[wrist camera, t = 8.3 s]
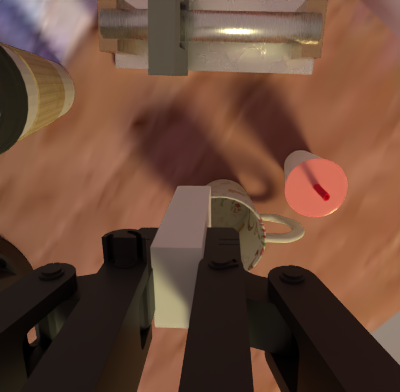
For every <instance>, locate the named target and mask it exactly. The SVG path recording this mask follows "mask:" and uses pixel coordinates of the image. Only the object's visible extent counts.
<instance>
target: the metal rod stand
mask: <svg viewBox="0 0 400 392" xmlns="http://www.w3.org/2000/svg"><path fill="white" fill-rule="evenodd" d="M327 3H328V0H189V10H180V41H188V70H193V71H223V72H253V73H283V74H312V68H313V60H314V59H316V58H321V52H322V44H323V36H324V28H325V19H326V11H327ZM97 4H98V26H99V48H100V51H102V52H108V53H114V54H115V62H116V68H133V69H148V0H97Z"/></svg>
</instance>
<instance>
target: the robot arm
mask: <svg viewBox="0 0 400 392" xmlns="http://www.w3.org/2000/svg"><path fill="white" fill-rule="evenodd" d="M102 245H103V255H104V263H103V265H102V267H101V268H100V270H99V271H98V273H96V274H91V275H84V276H76V268H75V267H74V266H73V265H70V264H67V263H54V264H53V263H50V264H47V265H45V266H42V267H39V268H37V269H35V270H33V269H32V268H31V266H30V264H29V263H28V261H27V260H26V259H25V257H24V256H23V255H22V254H21V253H20V252H19V251H18V250H17V249H16V248H15V247H13V246H12V245H11V244H9V243H8V242H6V241H5V240H3V239H1V238H0V392H137V389H138V386H139V382H140V379H141V375H142V371H143V368H144V364H145V361H146V357H147V354H148V350H149V347H150V343H151V340H152V324H151V322H152V319H153V316H154V318H155V327H168V328H188V334H187V340H186V347H185V353H184V360H183V366H182V372H181V379H180V385H179V391H178V392H254V389H253V377H252V364H251V352H250V347H253V348H256V349H260V350H264V351H265V358H266V361H267V363H268V365H269V368H270V370H271V372H272V374H273V376H274V378H275V380H276V382H277V384H278V386H279V388H280V391H281V392H400V365H399V364H398V363H397V362H396V361H395V360H394V359H393V358H392V357H391V355H390V354H389V353H388V352H387V351H386V350H385V349H384V348H383V347H382V346H381V345H380V344H379V343H378V342H377V340H376V339H375V338H374V337H373V336H372V335H371V334H370V333H369V332H368V331H367V330H366V329H365V328H364V327H363V326H362V324H361V323H360V322H359V321H358V320H357V319H356V318H355V317H354V316H353V315H352V314H351V313H350V312H349V311H348V309H347V308H346V307H345V306H344V305H343V304H342V303H341V302H340V301H339V300H338V299H337V298H336V297H335V296H334V294H333V293H332V292H331V291H330V290H329V289H328V288H327V287H326V286H325V285H324V284H323V283H322V282H321V281H320V279H319V278H318V277H317V276H316V275H315V274H313V273H312V272H311V271H309V270H307V269H304V268H302V267H299V266H293V265H289V266H280V267H276V268H274V269H272V270H270V272H269V274H268V278H266V277H261V276H257V275H254V274H252V273H249V272H248V271H246V270H245V269H244V267H243V263H242V261H241V250H240V237H239V232H237V231H236V230H235V229H234V228H222V227H211V186H178V187H177V189H176V191H175V193H174V196H173V198H172V200H171V202H170V205H169V207H168V209H167V211H166V213H165V216H164V218H163V220H162V222H161V225H160V227H159V228H141V229H139V230H136V229H120V230H116V231H112V232H109V233H107V234H105V235H104V236H103V237H102ZM34 326H35V330H36V336H37V339H36V340H35V341H34V342H33V343H31V344H29V343H28V338H27V333H28V332H29V331H30V329H32V328H33V327H34Z"/></svg>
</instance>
